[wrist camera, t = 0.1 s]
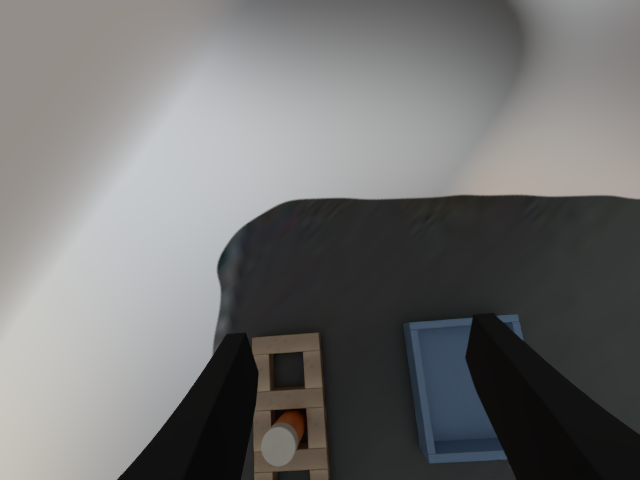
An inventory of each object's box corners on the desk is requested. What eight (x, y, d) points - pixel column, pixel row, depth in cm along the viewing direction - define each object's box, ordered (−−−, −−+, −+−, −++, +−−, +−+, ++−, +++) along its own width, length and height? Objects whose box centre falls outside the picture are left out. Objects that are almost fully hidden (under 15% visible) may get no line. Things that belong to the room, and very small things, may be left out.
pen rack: (334, 523, 36) (333, 537, 34) (261, 526, 37) (255, 540, 34) (320, 332, 42) (318, 332, 39) (257, 337, 42) (251, 337, 40)
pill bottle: (307, 438, 39) (296, 465, 31) (279, 439, 39) (261, 467, 31) (306, 407, 40) (294, 425, 32) (278, 408, 40) (260, 427, 32)
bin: (526, 442, 37) (550, 457, 33) (419, 448, 38) (429, 463, 33) (499, 316, 41) (517, 314, 36) (402, 323, 41) (409, 322, 37)
